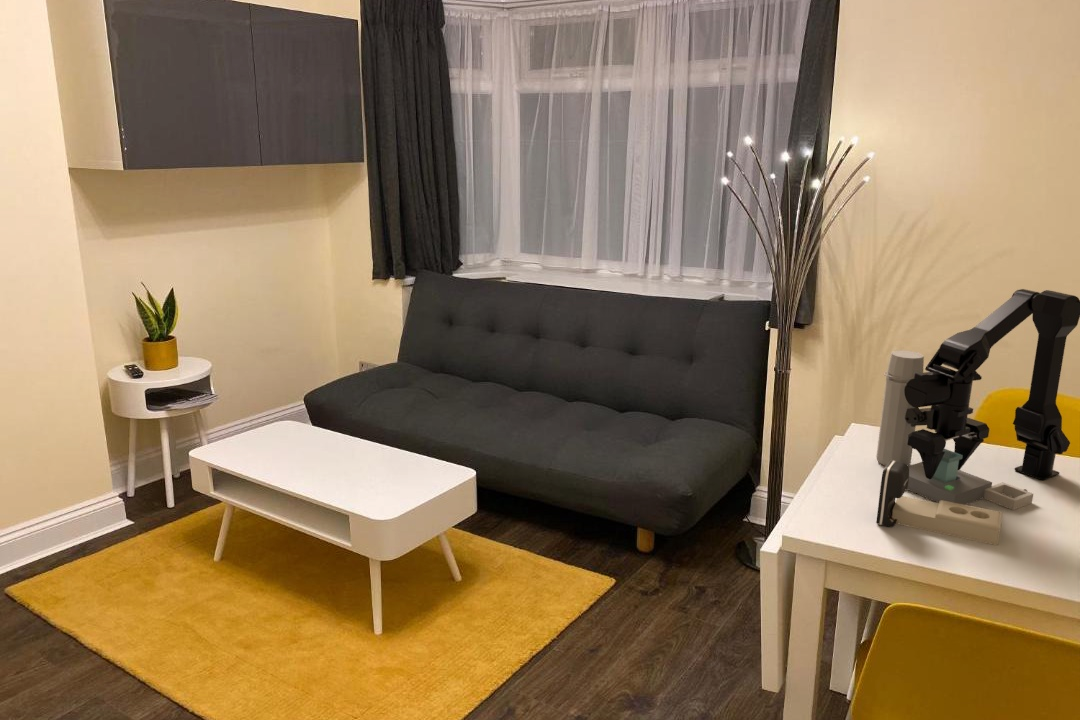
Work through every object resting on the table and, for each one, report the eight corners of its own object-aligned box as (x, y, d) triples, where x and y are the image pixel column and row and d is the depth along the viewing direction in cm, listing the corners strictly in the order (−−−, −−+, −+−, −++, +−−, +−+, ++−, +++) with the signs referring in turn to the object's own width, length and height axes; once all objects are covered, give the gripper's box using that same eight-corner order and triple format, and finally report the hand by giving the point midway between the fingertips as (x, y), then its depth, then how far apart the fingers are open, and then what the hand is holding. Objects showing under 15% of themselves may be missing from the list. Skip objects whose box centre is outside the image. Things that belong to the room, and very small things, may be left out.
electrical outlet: (899, 490, 169) (1002, 511, 160) (896, 509, 170) (999, 531, 161) (893, 504, 163) (1000, 526, 154) (891, 524, 164) (997, 547, 155)
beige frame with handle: (1009, 488, 179) (1011, 479, 179) (1040, 499, 174) (1042, 490, 173) (982, 497, 174) (984, 488, 174) (1013, 510, 169) (1014, 500, 169)
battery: (896, 530, 160) (904, 473, 157) (875, 525, 162) (882, 468, 159) (904, 516, 166) (912, 461, 163) (884, 511, 168) (891, 457, 165)
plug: (938, 483, 181) (943, 448, 179) (957, 491, 177) (962, 455, 175) (924, 488, 179) (929, 452, 177) (943, 496, 175) (949, 459, 173)
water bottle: (917, 469, 188) (932, 359, 181) (881, 469, 188) (895, 358, 181) (900, 453, 197) (915, 347, 190) (866, 453, 197) (879, 347, 190)
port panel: (928, 472, 187) (930, 457, 186) (989, 495, 175) (992, 480, 174) (892, 483, 181) (894, 468, 180) (953, 509, 169) (955, 493, 169)
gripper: (946, 384, 184) (936, 452, 189) (888, 397, 175) (879, 469, 179) (995, 398, 175) (984, 470, 179) (937, 413, 166) (927, 488, 170)
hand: (942, 473), depth 177 cm, fingers open, 9 cm apart
